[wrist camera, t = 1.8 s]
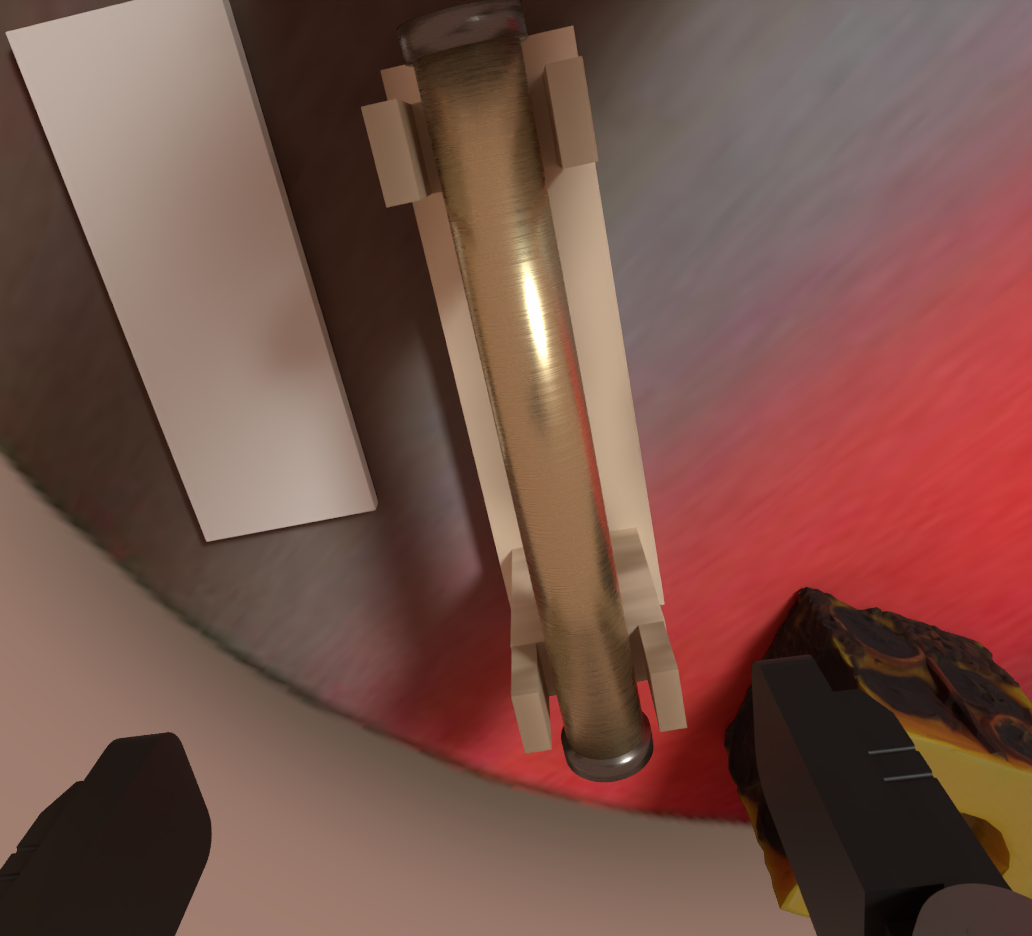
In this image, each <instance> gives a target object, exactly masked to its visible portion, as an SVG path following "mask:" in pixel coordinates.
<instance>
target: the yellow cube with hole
mask: <svg viewBox="0 0 1032 936" xmlns="http://www.w3.org/2000/svg"><path fill="white" fill-rule="evenodd" d="M801 655H810V656H812V657H813V658H814V660H815V661H816V663H817V665H818V666H819V668H820V670H821V672H822V673H823V675H824V677H825V679H826V680H827V682H828V684H829V685H830V687H831V689H832V691H833V692H836V691H844V690H852V689H861V690H862V691H864V692H865V693H867V694H868V695H869V696H871V697H872V698H873V699H875V700H876V701H878V702H879V703H880V704H882V705H883V706H885V707H886V708H887V709H889V710H890V711H891V712H893V713H894V714H895V716H896V717H897V719H898V720H899V722H900V723H901V725H902V726H903V728H904V729H905V731H906V732H907V734H908V735H909V737H910V738H911V740H912V741H913V743H914V744H915V749H916V751H919V752H920V753H921V755H922V756H923V758H924V759H925V761H926V762H927V764H928V765H929V767H930V768H931V770H932V774H933V777H934V778H937V779H938V780H939V782H940V783H941V785H942V786H943V788H944V789H945V791H946V792H947V794H948V795H949V797H950V798H951V800H952V801H953V803H954V804H955V806H956V808H957V809H958V811H959V812H960V814H961V815H962V817H963V818H964V820H965V821H966V823H967V824H968V826H969V827H970V829H971V830H972V832H973V833H974V835H975V836H976V838H977V839H978V841H979V842H980V844H981V845H982V847H983V848H984V850H985V851H986V853H987V854H988V856H989V857H990V859H991V860H992V862H993V863H994V865H995V866H996V868H997V869H998V871H999V872H1000V874H1001V875H1002V877H1003V878H1004V880H1005V881H1006V882H1007V884H1008V885H1009V886H1010V888H1011V889H1012V890H1013V891H1014V892H1017V893H1019V894H1021V895H1024V896H1026V897H1028V898H1030V899H1032V704H1031V702H1030V701H1029V699H1028V698H1027V697H1026V695H1025V694H1024V693H1023V692H1022V690H1021V688H1020V686H1019V684H1018V683H1017V682H1016V681H1014V679H1013V678H1012V677H1011V676H1010V675H1009V674H1008V673H1007V672H1006V671H1005V670H1004V669H1003V668H1001V667H1000V666H998V665H997V664H996V663H994V661H993V660H992V654H991V652H990V651H989V650H988V649H986V648H985V647H984V646H982V645H981V644H980V643H978V642H976V641H974V640H971V639H968V638H965V637H961V636H958V635H955V634H952V633H949V632H945V631H941V630H940V629H938V628H937V627H936V626H930V625H928V624H926V623H923V622H919V621H916V620H912V619H907V618H905V617H903V616H901V615H898V614H896V613H893V612H888V611H886V612H881V610H880V609H879V608H877V607H876V608H871V609H868V610H857V609H855V608H853V607H851V606H850V605H848V604H846V603H843V602H841V601H839V600H837V599H836V598H835V597H833V596H832V595H831V594H827V593H823V592H821V591H820V590H818V589H811V588H808V587H806V588H804V589H802V590H801V591H799V601H798V602H797V603H795V605H794V606H793V607H792V609H791V610H790V611H789V615H788V619H787V621H786V622H785V623H784V624H783V625H782V626H781V627H780V629H779V630H778V631H777V634H776V637H775V639H774V642H773V644H772V645H771V647H770V649H769V650H768V652H767V654H766V655H765V657H764V658H763V660H769V659H777V658H785V657H793V656H801ZM724 747H725V748H726V750H727V753H728V756H729V771H730V774H731V776H732V779H733V780H734V782H735V784H736V785H737V791H738V794H739V797H740V799H741V801H742V802H743V804H744V806H745V808H746V810H747V813H748V815H749V818H750V820H751V823H752V826H753V829H754V832H755V835H756V838H757V842H758V843H759V845H760V846H761V848H762V849H763V851H764V858H765V864H766V866H767V869H768V871H769V873H770V875H771V879H772V884H773V889H774V892H775V895H776V898H777V901H778V904H779V907H780V909H782V910H785V911H788V912H791V913H795V914H798V915H801V916H806V917H810V916H809V913H808V910H807V908H806V905H805V902H804V900H803V897H802V894H801V892H800V889H799V887H798V884H797V881H796V879H795V876H794V873H793V871H792V868H791V866H790V863H789V860H788V858H787V855H786V852H785V850H784V847H783V844H782V842H781V839H780V837H779V834H778V831H777V829H776V826H775V823H774V821H773V818H772V816H771V813H770V810H769V808H768V805H767V802H766V799H765V796H764V793H763V790H762V786H761V782H760V777H759V773H758V767H757V761H756V753H755V735H754V715H753V695H752V685H751V686H750V688H749V689H748V691H747V696H746V698H745V700H744V702H743V704H742V706H741V708H740V711H739V713H738V715H737V716H736V718H735V720H734V721H733V722H732V724H731V725H730V726H729V727H728V728H727V729H726V735H725V740H724Z"/></svg>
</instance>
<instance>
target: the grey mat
mask: <svg viewBox="0 0 1032 936" xmlns="http://www.w3.org/2000/svg"><path fill="white" fill-rule="evenodd" d="M6 35H7V38H8V40H9V43H10V45H11V48H12V50H13V53H14V55H15V58H16V60H17V63H18V65H19V68H20V70H21V73H22V76H23V78H24V81H25V83H26V86H27V88H28V91H29V93H30V96H31V98H32V101H33V103H34V106H35V108H36V111H37V114H38V116H39V119H40V121H41V124H42V126H43V129H44V131H45V134H46V136H47V139H48V141H49V144H50V146H51V149H52V152H53V154H54V157H55V159H56V162H57V164H58V167H59V169H60V172H61V174H62V177H63V179H64V182H65V184H66V187H67V190H68V192H69V195H70V197H71V200H72V202H73V205H74V207H75V210H76V212H77V215H78V217H79V220H80V222H81V225H82V228H83V230H84V233H85V235H86V238H87V240H88V243H89V245H90V248H91V250H92V253H93V255H94V258H95V261H96V263H97V266H98V268H99V271H100V273H101V276H102V278H103V281H104V283H105V286H106V288H107V291H108V293H109V296H110V299H111V301H112V304H113V306H114V309H115V311H116V314H117V316H118V319H119V321H120V324H121V326H122V329H123V331H124V334H125V337H126V339H127V342H128V344H129V347H130V349H131V352H132V354H133V357H134V359H135V362H136V364H137V367H138V369H139V372H140V375H141V377H142V380H143V382H144V385H145V387H146V390H147V392H148V395H149V397H150V400H151V402H152V405H153V407H154V410H155V413H156V415H157V418H158V420H159V423H160V425H161V428H162V430H163V433H164V435H165V438H166V440H167V443H168V445H169V448H170V451H171V453H172V456H173V458H174V461H175V463H176V466H177V468H178V471H179V473H180V476H181V478H182V481H183V484H184V486H185V489H186V491H187V494H188V496H189V499H190V501H191V504H192V506H193V509H194V511H195V514H196V516H197V519H198V522H199V524H200V527H201V529H202V532H203V534H204V537H205V539H206V542H208V541H214V540H219V539H224V538H230V537H235V536H240V535H246V534H251V533H256V532H262V531H267V530H272V529H278V528H283V527H288V526H294V525H299V524H304V523H310V522H315V521H320V520H326V519H331V518H336V517H342V516H347V515H352V514H358V513H363V512H368V511H374V510H376V508H377V505H378V500H377V496H376V493H375V490H374V486H373V483H372V480H371V476H370V473H369V469H368V466H367V463H366V459H365V456H364V453H363V449H362V446H361V443H360V439H359V436H358V433H357V429H356V426H355V422H354V419H353V416H352V412H351V409H350V406H349V402H348V399H347V396H346V392H345V389H344V385H343V382H342V379H341V375H340V372H339V369H338V365H337V362H336V359H335V355H334V352H333V349H332V345H331V342H330V338H329V335H328V332H327V328H326V325H325V322H324V318H323V315H322V312H321V308H320V305H319V301H318V298H317V295H316V291H315V288H314V285H313V281H312V278H311V275H310V271H309V268H308V265H307V261H306V258H305V254H304V251H303V248H302V244H301V241H300V238H299V234H298V231H297V228H296V224H295V221H294V217H293V214H292V211H291V207H290V204H289V201H288V197H287V194H286V191H285V187H284V184H283V181H282V177H281V174H280V170H279V167H278V164H277V160H276V157H275V154H274V150H273V147H272V144H271V140H270V137H269V133H268V130H267V127H266V123H265V120H264V117H263V113H262V110H261V107H260V103H259V100H258V97H257V93H256V90H255V86H254V83H253V80H252V76H251V73H250V70H249V66H248V63H247V60H246V56H245V53H244V49H243V46H242V43H241V39H240V36H239V33H238V29H237V26H236V23H235V19H234V16H233V13H232V9H231V6H230V2H229V0H134V1H130V2H126V3H122V4H118V5H114V6H110V7H106V8H101V9H97V10H93V11H89V12H85V13H81V14H77V15H73V16H69V17H65V18H61V19H57V20H53V21H49V22H45V23H41V24H37V25H33V26H29V27H25V28H21V29H16V30H12V31H8V32H6Z"/></svg>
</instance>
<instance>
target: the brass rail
mask: <svg viewBox="0 0 1032 936" xmlns="http://www.w3.org/2000/svg"><path fill="white" fill-rule="evenodd" d="M397 32H398V37H399V41H400V45H401V50H402V54H403V58H404V63H405V66H408V67H414V71H415V75H416V80H417V84H418V88H419V93H420V97H421V102H422V106H423V110H424V115H425V119H426V124H427V128H428V132H429V137H430V141H431V146H432V150H433V154H434V159H435V163H436V167H437V172H438V176H439V181H440V185H441V189H442V194H443V198H444V203H445V207H446V211H447V216H448V220H449V224H450V229H451V233H452V238H453V242H454V246H455V251H456V255H457V260H458V264H459V268H460V273H461V277H462V281H463V286H464V290H465V295H466V299H467V303H468V308H469V312H470V317H471V321H472V325H473V330H474V334H475V339H476V343H477V347H478V352H479V356H480V360H481V365H482V369H483V374H484V378H485V382H486V387H487V391H488V396H489V400H490V404H491V409H492V413H493V417H494V422H495V426H496V431H497V435H498V439H499V444H500V448H501V453H502V457H503V461H504V466H505V470H506V474H507V479H508V483H509V488H510V492H511V496H512V501H513V505H514V510H515V514H516V518H517V523H518V527H519V532H520V536H521V540H522V545H523V549H524V553H525V558H526V562H527V567H528V571H529V575H530V580H531V584H532V589H533V593H534V597H535V602H536V606H537V610H538V615H539V619H540V624H541V628H542V632H543V637H544V641H545V646H546V650H547V654H548V659H549V663H550V667H551V672H552V676H553V681H554V685H555V689H556V694H557V698H558V703H559V707H560V711H561V716H562V720H563V725H564V726H563V729H562V733H561V741H562V745H563V750H564V754H565V758H566V762H567V764H568V766H569V767H570V769H571V770H572V771H573V772H574V773H576V774H577V775H579V776H580V777H582V778H584V779H587V780H590V781H595V782H613V781H618V780H622V779H625V778H628V777H630V776H632V775H634V774H636V773H637V772H639V771H640V770H641V769H642V768H643V767H644V766H645V765H646V764H647V763H648V762H649V760H650V758H651V756H652V753H653V746H654V745H653V739H652V733H651V727H650V723H649V720H648V718H647V716H646V715H645V714H644V713H643V712H642V709H641V704H640V698H639V693H638V687H637V682H636V676H635V671H634V665H633V660H632V654H631V649H630V643H629V638H628V632H627V626H626V621H625V615H624V610H623V604H622V599H621V593H620V588H619V582H618V577H617V571H616V566H615V560H614V555H613V549H612V543H611V538H610V532H609V527H608V521H607V516H606V510H605V505H604V499H603V494H602V488H601V483H600V477H599V472H598V466H597V460H596V455H595V449H594V444H593V438H592V433H591V427H590V422H589V416H588V411H587V405H586V400H585V394H584V389H583V383H582V377H581V372H580V366H579V361H578V355H577V350H576V344H575V339H574V333H573V328H572V322H571V317H570V311H569V306H568V300H567V295H566V289H565V283H564V278H563V272H562V267H561V261H560V256H559V250H558V245H557V239H556V234H555V228H554V223H553V217H552V212H551V206H550V200H549V195H548V189H547V184H546V178H545V173H544V167H543V162H542V156H541V151H540V145H539V140H538V134H537V129H536V123H535V117H534V112H533V106H532V101H531V95H530V90H529V84H528V79H527V73H526V68H525V62H524V57H523V51H522V46H521V42H523V41H525V40H526V39H527V38H528V34H527V28H526V23H525V17H524V11H523V6H522V1H521V0H483V1H477V2H472V3H467V4H462V5H457V6H453V7H449V8H445V9H442V10H438V11H435V12H431V13H428V14H425V15H422V16H420V17H417V18H414V19H412V20H410V21H407V22H405V23H404V24H402V25H400V26H399V27H398V28H397Z"/></svg>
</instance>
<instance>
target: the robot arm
mask: <svg viewBox="0 0 1032 936" xmlns="http://www.w3.org/2000/svg"><path fill="white" fill-rule="evenodd" d="M751 674H752V695H753V715H754V735H755V753H756V761H757V767H758V773H759V777H760V782H761V786H762V790H763V793H764V796H765V799H766V802H767V805H768V808H769V810H770V813H771V816H772V818H773V821H774V823H775V826H776V829H777V831H778V834H779V837H780V839H781V842H782V844H783V847H784V850H785V852H786V855H787V858H788V860H789V863H790V866H791V868H792V871H793V873H794V876H795V879H796V881H797V884H798V887H799V889H800V892H801V894H802V897H803V900H804V902H805V905H806V908H807V910H808V913H809V916H810V918H811V921H812V923H813V926H814V929H815V931H816V934H817V936H1032V899H1030V898H1028V897H1026V896H1024V895H1021V894H1019V893H1017V892H1014V891H1013V890H1012V889H1011V888H1010V886H1009V885H1008V884H1007V882H1006V881H1005V880H1004V878H1003V877H1002V875H1001V874H1000V872H999V871H998V869H997V868H996V866H995V865H994V863H993V862H992V860H991V859H990V857H989V856H988V854H987V853H986V851H985V850H984V848H983V847H982V845H981V844H980V842H979V841H978V839H977V838H976V836H975V835H974V833H973V832H972V830H971V829H970V827H969V826H968V824H967V823H966V821H965V820H964V818H963V817H962V815H961V814H960V812H959V811H958V809H957V808H956V806H955V804H954V803H953V801H952V800H951V798H950V797H949V795H948V794H947V792H946V791H945V789H944V788H943V786H942V785H941V783H940V782H939V780H938V779H937V778H934V777H933V774H932V770H931V768H930V767H929V765H928V764H927V762H926V761H925V759H924V758H923V756H922V755H921V753H920V752H919V751H916V749H915V744H914V743H913V741H912V740H911V738H910V737H909V735H908V734H907V732H906V731H905V729H904V728H903V726H902V725H901V723H900V722H899V720H898V719H897V717H896V716H895V714H894V713H893V712H891V711H890V710H889V709H887V708H886V707H885V706H883V705H882V704H880V703H879V702H878V701H876V700H875V699H873V698H872V697H871V696H869V695H868V694H867V693H865V692H864V691H862V690H861V689H852V690H844V691H836V692H833V691H832V689H831V687H830V685H829V684H828V682H827V680H826V679H825V677H824V675H823V673H822V672H821V670H820V668H819V666H818V665H817V663H816V661H815V660H814V658H813V657H812V656H810V655H801V656H793V657H785V658H777V659H769V660H761V661H754V662H753V664H752V671H751ZM211 834H212V833H211V821H210V816H209V813H208V810H207V807H206V805H205V802H204V799H203V797H202V794H201V792H200V789H199V786H198V784H197V781H196V779H195V776H194V774H193V771H192V768H191V766H190V763H189V761H188V758H187V755H186V753H185V750H184V748H183V745H182V743H181V741H180V740H179V738H178V737H177V736H176V735H175V734H173V733H170V732H167V733H159V734H151V735H143V736H135V737H127V738H119V739H116V740H114V741H112V742H111V743H110V744H109V745H108V746H107V748H106V749H105V751H104V752H103V753H102V755H101V756H100V758H99V759H98V761H97V762H96V764H95V765H94V767H93V768H92V770H91V771H90V773H89V774H88V775H87V777H86V778H85V780H84V781H79V782H76V783H75V784H73V785H72V786H71V787H70V788H69V789H68V790H67V791H65V792H64V793H63V794H62V795H61V796H60V797H59V798H58V799H56V800H55V801H54V802H53V803H52V804H51V805H49V806H48V807H47V808H46V809H45V810H44V811H43V812H41V814H40V815H39V816H38V818H37V819H36V821H35V822H34V823H33V825H32V826H31V828H30V829H29V830H28V832H27V833H26V835H25V836H24V837H23V839H22V840H21V842H20V843H19V844H18V846H17V852H16V853H14V854H11V856H10V857H9V858H8V860H7V861H6V863H5V864H4V865H3V867H2V868H1V869H0V936H175V934H176V932H177V930H178V927H179V925H180V923H181V920H182V918H183V916H184V914H185V911H186V909H187V907H188V904H189V902H190V900H191V898H192V895H193V893H194V891H195V888H196V886H197V884H198V881H199V879H200V877H201V875H202V872H203V870H204V868H205V865H206V863H207V860H208V856H209V853H210V847H211V836H212V835H211Z"/></svg>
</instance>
